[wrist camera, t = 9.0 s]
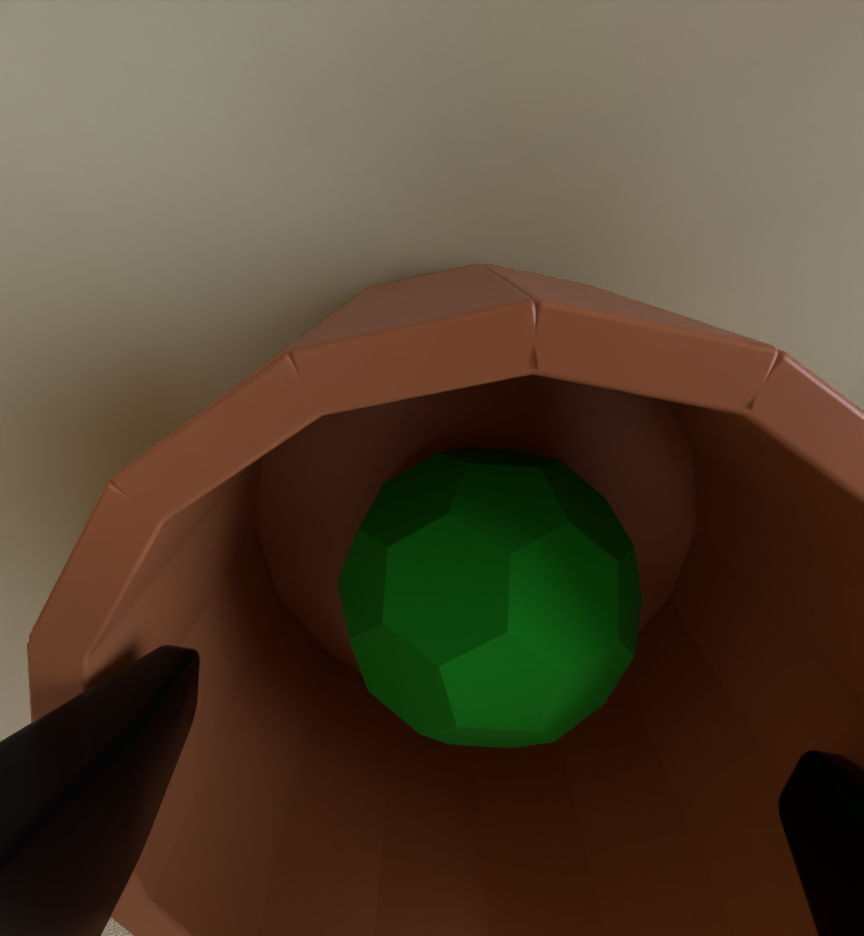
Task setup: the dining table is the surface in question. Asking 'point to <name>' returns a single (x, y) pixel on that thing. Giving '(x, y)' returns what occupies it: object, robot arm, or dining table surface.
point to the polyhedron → (491, 598)
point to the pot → (476, 767)
